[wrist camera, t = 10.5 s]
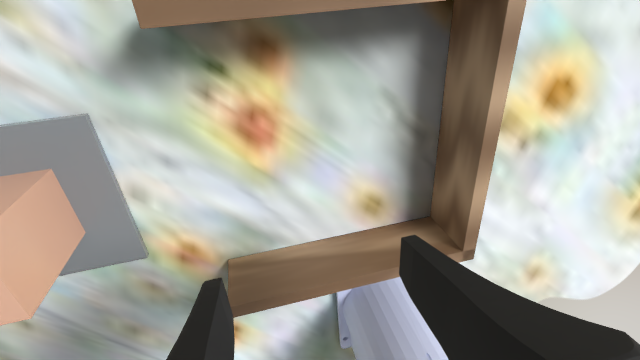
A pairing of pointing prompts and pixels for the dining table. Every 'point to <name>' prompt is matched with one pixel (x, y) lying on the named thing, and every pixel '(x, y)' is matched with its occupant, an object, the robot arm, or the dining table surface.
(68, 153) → the mat
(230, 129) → the dining table surface
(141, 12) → the open frame
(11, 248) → the block
